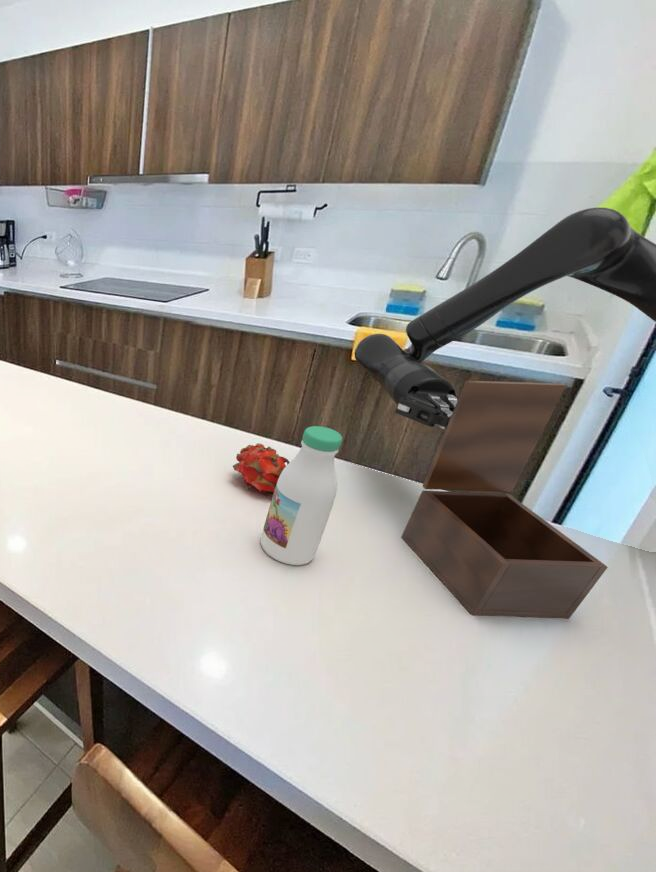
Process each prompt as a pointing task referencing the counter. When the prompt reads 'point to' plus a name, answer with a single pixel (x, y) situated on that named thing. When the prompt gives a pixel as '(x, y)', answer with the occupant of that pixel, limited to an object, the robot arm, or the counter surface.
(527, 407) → the tea lid
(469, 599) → the tea box
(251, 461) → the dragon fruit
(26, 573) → the counter surface
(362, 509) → the counter surface
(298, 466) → the milk bottle
